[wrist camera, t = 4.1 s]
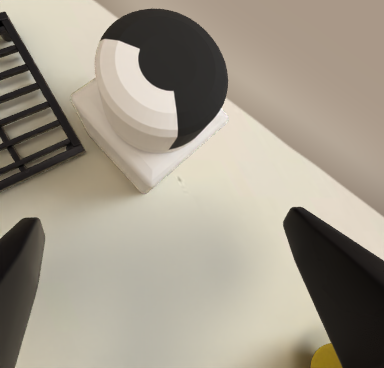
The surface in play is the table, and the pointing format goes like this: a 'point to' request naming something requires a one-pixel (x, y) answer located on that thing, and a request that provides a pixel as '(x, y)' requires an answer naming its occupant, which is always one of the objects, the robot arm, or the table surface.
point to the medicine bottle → (153, 94)
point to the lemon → (325, 358)
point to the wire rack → (74, 148)
